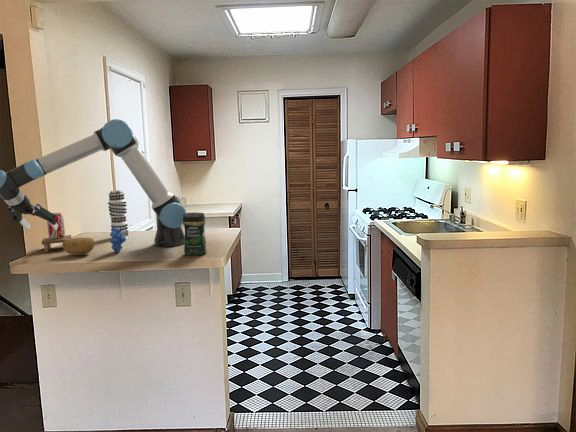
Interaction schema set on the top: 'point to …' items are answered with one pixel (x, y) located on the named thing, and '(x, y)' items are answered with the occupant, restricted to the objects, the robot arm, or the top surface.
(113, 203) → the decorative candle
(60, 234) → the soda can
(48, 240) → the shelf stand
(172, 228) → the robot arm
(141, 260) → the top surface
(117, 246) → the grapes
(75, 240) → the potato
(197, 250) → the coffee jar
